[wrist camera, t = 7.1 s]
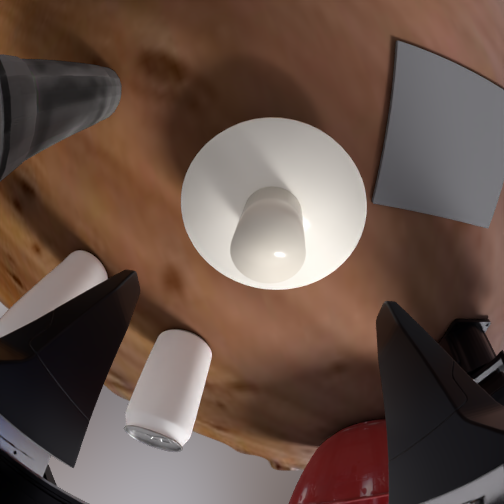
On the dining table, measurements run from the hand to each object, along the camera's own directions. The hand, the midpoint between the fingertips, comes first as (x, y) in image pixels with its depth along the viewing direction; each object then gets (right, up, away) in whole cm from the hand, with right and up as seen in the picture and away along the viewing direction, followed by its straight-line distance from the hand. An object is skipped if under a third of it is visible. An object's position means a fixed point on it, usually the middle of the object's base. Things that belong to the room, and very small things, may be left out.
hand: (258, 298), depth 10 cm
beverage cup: (-12, +14, +7) cm, 19 cm away
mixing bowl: (+21, -31, +31) cm, 48 cm away
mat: (+15, +10, +6) cm, 19 cm away
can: (-8, -9, +21) cm, 24 cm away
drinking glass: (-17, 0, +17) cm, 24 cm away
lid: (+1, +4, +6) cm, 8 cm away
